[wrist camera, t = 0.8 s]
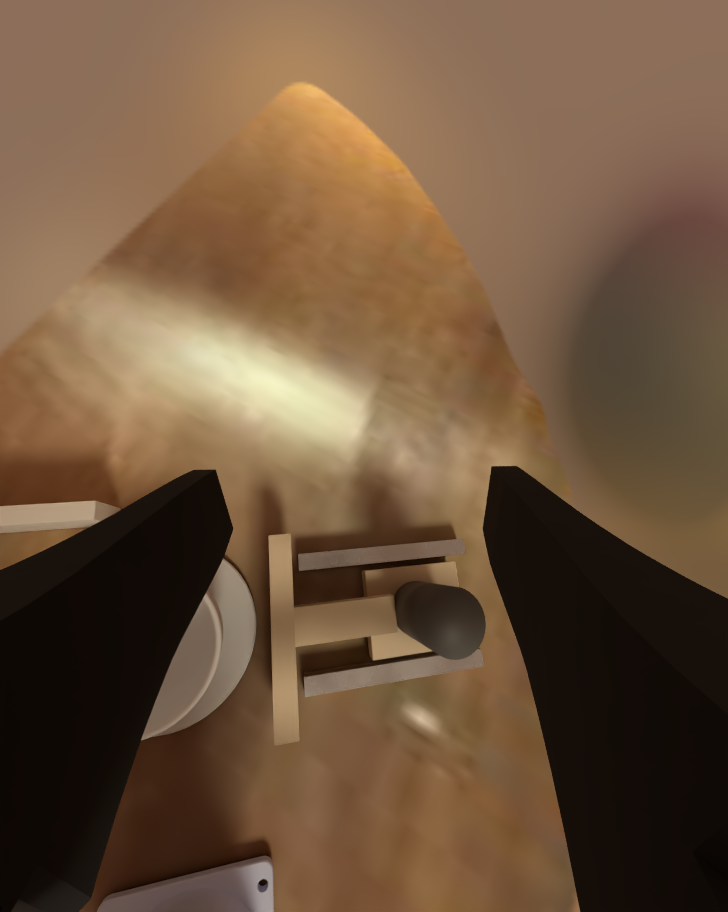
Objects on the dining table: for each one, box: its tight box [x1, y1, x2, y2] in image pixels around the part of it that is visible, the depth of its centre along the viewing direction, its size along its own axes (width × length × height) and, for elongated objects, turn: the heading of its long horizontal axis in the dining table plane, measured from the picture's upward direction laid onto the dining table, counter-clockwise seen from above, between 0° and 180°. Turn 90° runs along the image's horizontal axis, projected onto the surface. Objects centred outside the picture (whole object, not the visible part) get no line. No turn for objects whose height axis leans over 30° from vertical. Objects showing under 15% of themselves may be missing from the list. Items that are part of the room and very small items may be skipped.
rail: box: [298, 539, 484, 697], centre depth 23 cm, size 8×11×1 cm
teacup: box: [141, 558, 256, 740], centre depth 19 cm, size 10×10×5 cm
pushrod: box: [269, 534, 485, 746], centre depth 20 cm, size 10×12×7 cm
